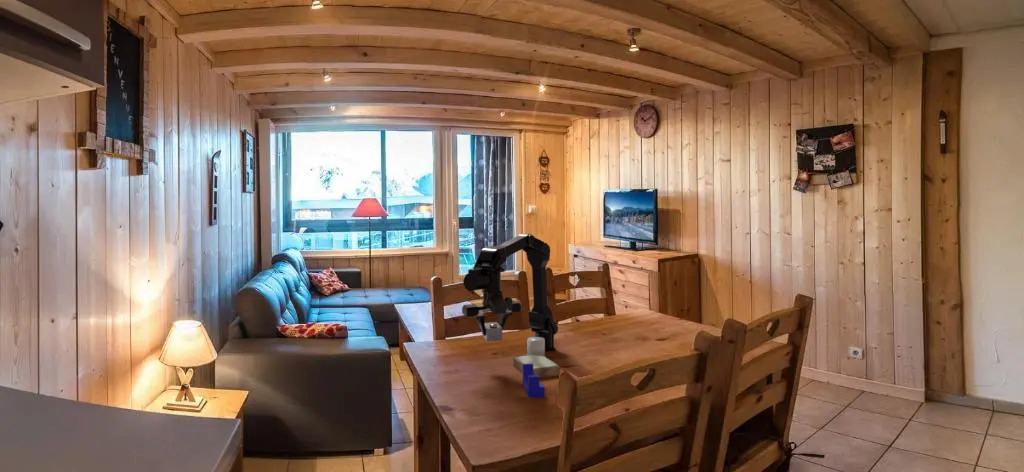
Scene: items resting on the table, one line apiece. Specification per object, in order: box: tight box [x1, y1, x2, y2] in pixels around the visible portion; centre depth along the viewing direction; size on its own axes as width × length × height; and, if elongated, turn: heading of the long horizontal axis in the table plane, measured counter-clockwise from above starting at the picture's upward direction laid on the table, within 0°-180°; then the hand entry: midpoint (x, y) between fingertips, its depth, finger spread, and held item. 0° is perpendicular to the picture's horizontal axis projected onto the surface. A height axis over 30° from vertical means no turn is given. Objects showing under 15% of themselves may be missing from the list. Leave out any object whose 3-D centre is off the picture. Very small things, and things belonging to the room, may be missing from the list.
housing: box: [481, 321, 503, 342], centre depth 173 cm, size 5×8×5 cm, turn 14°
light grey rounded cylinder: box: [526, 336, 546, 357], centre depth 184 cm, size 6×6×7 cm
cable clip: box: [522, 364, 546, 398], centre depth 155 cm, size 12×4×6 cm, turn 7°
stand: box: [513, 354, 561, 379], centre depth 173 cm, size 10×14×3 cm
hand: (492, 334), depth 173 cm, fingers closed on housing, 5 cm apart
